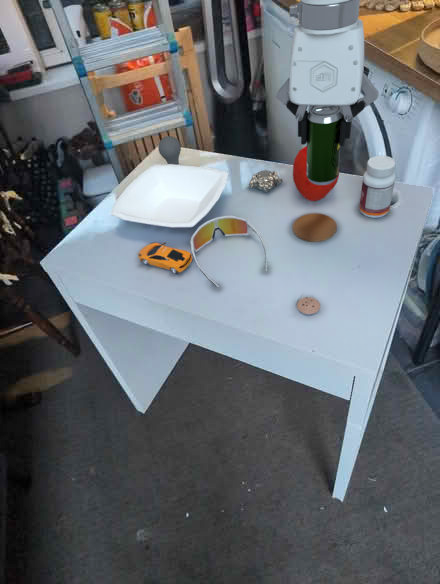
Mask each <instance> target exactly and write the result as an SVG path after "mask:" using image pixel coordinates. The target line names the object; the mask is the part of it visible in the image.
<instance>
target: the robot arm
mask: <svg viewBox="0 0 440 584" xmlns="http://www.w3.org/2000/svg"><path fill="white" fill-rule="evenodd" d="M360 3H361V0H300V1H299V2H298V3H295V4H290V6H289V11H288V12H289V17H290V18H293V17H294V18H296V19H297V20H298V24H297V25H296V26H295V28H294V29H293V35H292V41H291V49H290V60H289V61H290V63H289V77H288V78H287V80H286V81H285V82H284V83H283V84H282V85H281V87H280V88H279V89H278V91H277V93H276V94H275V98H276V99H277V100H278V102H280V103H281V104H283V105H284V106H285V107H286V109H287V110H288V111H289V112H290V113H291V114H292V115H293V116H294V118H295V121H297V137H299V138H300V145H301V146H302V145H303V146H304V145H307V115H308V113H309V110H307V109H308V106H310V107H311V106H341V108H342V113H343V118H342V121H341V126H340V140H339V145H340V146H341V147H345V144H346V140H348V139H350V138H351V134H352V124H353V123H352V122H353V120H354V118H356V116H358V115H359V114H360V113H361V112H363V110H365V108H367V107H368V106H370V105H372V103H374V102H375V101H376V100H377V99H378V98H379V94H380V93H379V91H378V88H376V86H375V85H374V84H373V82H372V81H371V80H370V78H368V76H367V75H366V73H365V72H364V71H365V70H364V67H365V33H364V31H365V30H364V22H363V20H362V19H359V14H360ZM361 92H363V93H364V95H363V96H362V97H360V96H361Z"/></svg>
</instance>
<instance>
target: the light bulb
mask: <svg viewBox="0 0 440 584" xmlns="http://www.w3.org/2000/svg"><path fill="white" fill-rule="evenodd" d="M157 149H158V152H159V154H160V156H161V157H162V158H163V159H164V160H165V162H166V164H175V165H180V154H181V150H182V146H181V142H180V141H179V140H178V139H177V138H176V137H175V136H171V135H166V136H164V137H162V139H160V141H159V143H158V147H157Z"/></svg>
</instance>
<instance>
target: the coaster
mask: <svg viewBox="0 0 440 584" xmlns="http://www.w3.org/2000/svg"><path fill="white" fill-rule="evenodd" d="M337 229H338V225H337V222H336V220H335V219H333V217H331V216H329V215H327V214H322V213H316V212H314V213H313V212H312V213H307V214H303V215H301V216H299V217H298V218H296V219H295V220H294V222H293V224H292V232H293V234H294V236H295V237H296V238H298V239H299V240H302V241H305V242H309V243H320V242H323V241H327V240H329V239H330V238H332V237H333V236H334V235H335V234H336V233H337Z"/></svg>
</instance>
